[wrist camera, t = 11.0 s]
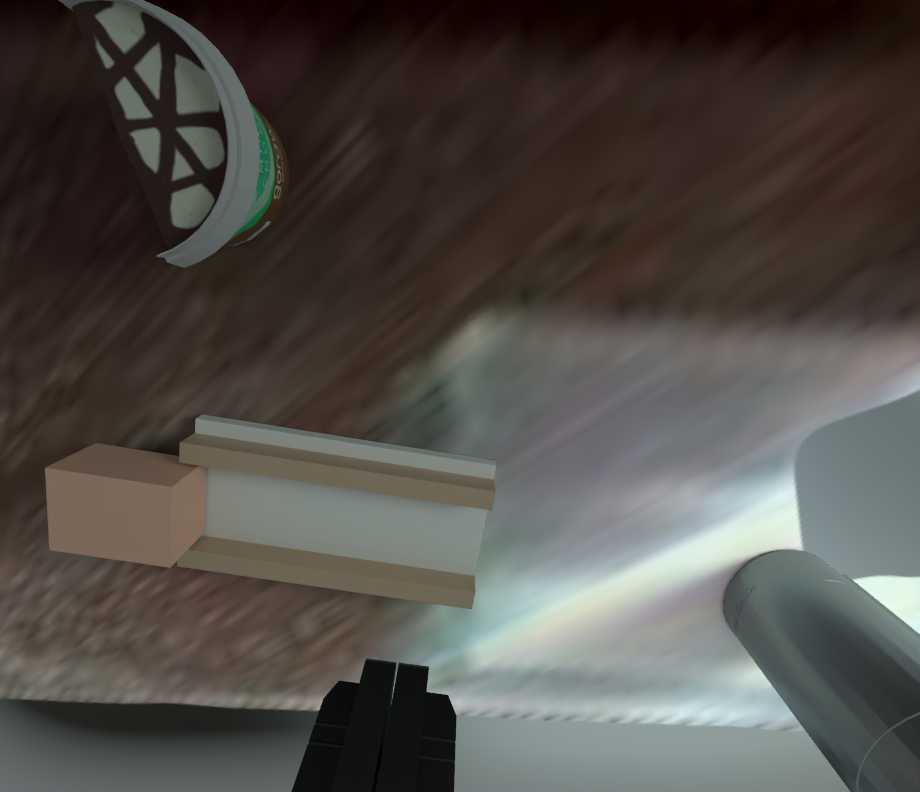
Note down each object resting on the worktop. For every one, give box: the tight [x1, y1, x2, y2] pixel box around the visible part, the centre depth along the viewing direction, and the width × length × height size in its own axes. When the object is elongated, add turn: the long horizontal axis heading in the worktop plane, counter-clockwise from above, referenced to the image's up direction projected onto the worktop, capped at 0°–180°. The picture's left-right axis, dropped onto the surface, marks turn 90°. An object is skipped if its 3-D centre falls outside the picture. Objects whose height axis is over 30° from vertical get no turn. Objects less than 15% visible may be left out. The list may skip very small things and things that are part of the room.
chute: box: [177, 414, 496, 609], centre depth 37 cm, size 22×12×3 cm, turn 81°
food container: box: [59, 0, 290, 268], centre depth 27 cm, size 12×6×10 cm, turn 14°
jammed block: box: [45, 443, 207, 568], centre depth 34 cm, size 8×6×4 cm
